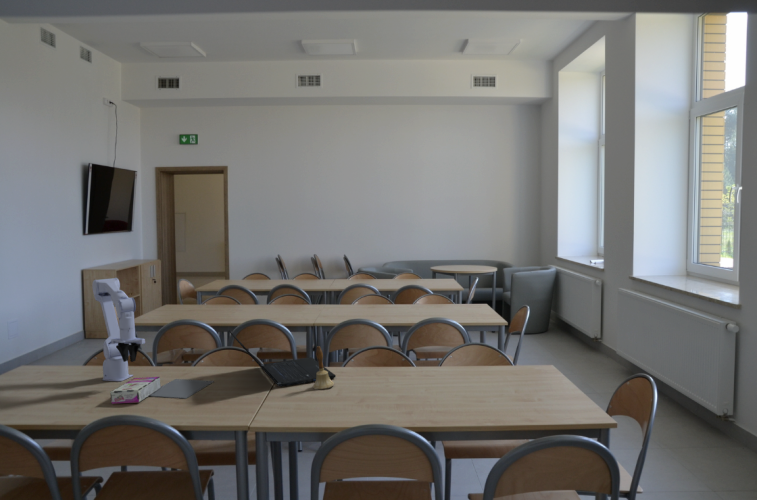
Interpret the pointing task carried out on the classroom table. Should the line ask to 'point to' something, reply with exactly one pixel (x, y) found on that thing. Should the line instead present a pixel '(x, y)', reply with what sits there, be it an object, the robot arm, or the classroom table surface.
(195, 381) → the mat
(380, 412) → the classroom table surface
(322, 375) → the hand bell
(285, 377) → the laptop
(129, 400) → the candy bar box
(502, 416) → the classroom table surface
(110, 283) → the robot arm
